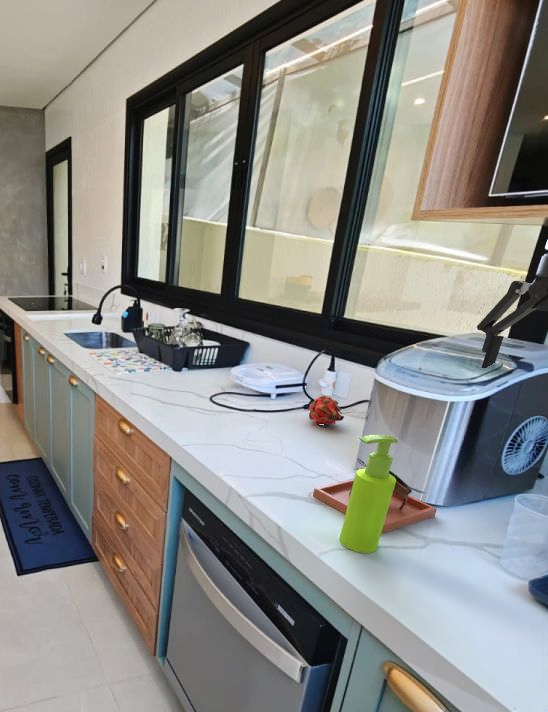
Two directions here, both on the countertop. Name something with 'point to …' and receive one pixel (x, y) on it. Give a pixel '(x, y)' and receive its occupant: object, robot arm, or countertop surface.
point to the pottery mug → (399, 489)
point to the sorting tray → (395, 517)
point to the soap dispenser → (369, 498)
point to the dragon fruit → (325, 411)
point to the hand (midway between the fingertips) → (527, 379)
